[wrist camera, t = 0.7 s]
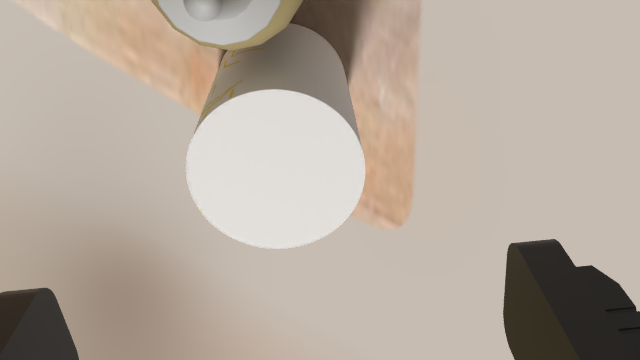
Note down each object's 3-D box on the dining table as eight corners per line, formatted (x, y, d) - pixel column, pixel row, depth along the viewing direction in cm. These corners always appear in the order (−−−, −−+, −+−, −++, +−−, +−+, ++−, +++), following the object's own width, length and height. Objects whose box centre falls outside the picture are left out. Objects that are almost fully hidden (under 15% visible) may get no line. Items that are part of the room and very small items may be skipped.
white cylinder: (230, 7, 35) (202, 69, 25) (362, 41, 37) (388, 114, 26) (207, 130, 39) (173, 230, 28) (327, 157, 40) (337, 262, 30)
